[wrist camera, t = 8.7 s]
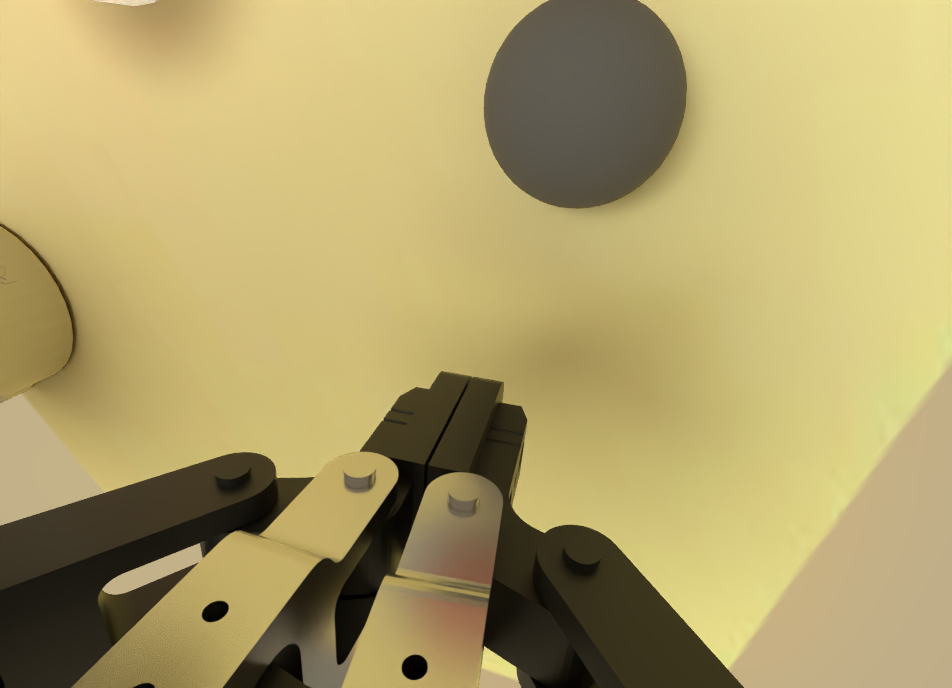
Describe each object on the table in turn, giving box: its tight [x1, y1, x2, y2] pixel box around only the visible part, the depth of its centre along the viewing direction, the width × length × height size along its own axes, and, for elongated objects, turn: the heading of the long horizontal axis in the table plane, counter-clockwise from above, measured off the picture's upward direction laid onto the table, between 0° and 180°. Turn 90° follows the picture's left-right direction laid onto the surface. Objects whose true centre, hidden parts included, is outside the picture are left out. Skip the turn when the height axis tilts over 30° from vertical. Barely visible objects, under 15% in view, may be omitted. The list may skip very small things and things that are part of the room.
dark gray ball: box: [484, 0, 687, 208], centre depth 15 cm, size 6×6×6 cm
